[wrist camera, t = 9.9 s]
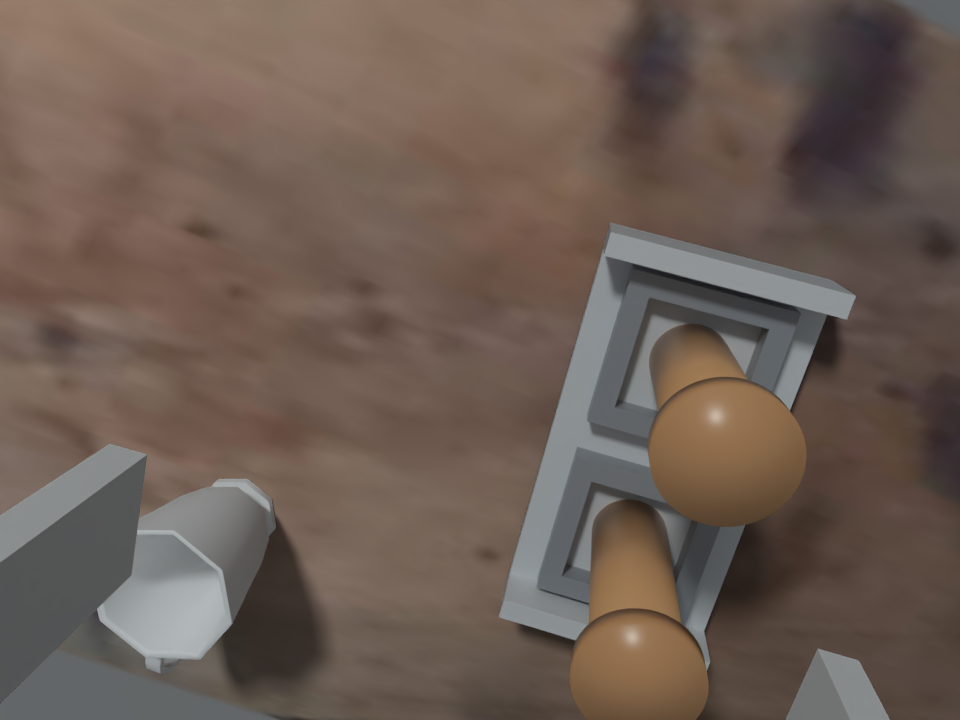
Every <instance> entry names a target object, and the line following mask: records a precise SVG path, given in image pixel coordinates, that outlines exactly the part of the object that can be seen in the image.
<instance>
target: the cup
mask: <svg viewBox="0 0 960 720" xmlns="http://www.w3.org/2000/svg"><path fill="white" fill-rule="evenodd" d="M275 529H276V522H275V516H274V510H273V503H272V499H271V498H270V497H269V496H267V495H266V494H265V493H264V492H263V491H262V490H260V489H259V488H258V487H257V486H256V485H254V484H253V483H252V482H251V481H250V480H248V479H218V480H217V481H216V482H215V483H214V484H213V485H212V486H211V487H205V488H203V489H200V490H197V491H194V492H191V493H188V494H185V495H183V496H180V497H178V498H176V499H175V500H173V501H171V502H169V503H167V504H166V505H164V506H162V507H160V508H158V509H157V510H155V511H153V512H151V513H149V514H147V515H145V516H143V517H141V518H139V521H138V529H137V536H136V544H135V552H134V560H133V567H132V575H131V576H130V577H129V578H128V579H127V580H126V581H125V582H124V583H123V584H122V585H121V586H120V587H119V588H118V589H117V590H116V591H115V592H114V593H113V594H112V595H111V596H110V597H109V598H108V599H107V600H106V601H105V602H104V603H103V604H102V605H101V606H100V607H99V608H97V611H98V615H99V619H100V621H101V622H102V623H103V624H105V625H106V626H107V627H108V628H110V629H111V630H112V631H113V632H115V633H116V634H117V635H118V636H119V637H121V638H122V639H123V640H124V641H126V642H127V643H128V644H129V645H131V646H132V647H133V648H134V649H136V650H137V651H138V652H139V653H141V654H142V655H143V656H144V657H146V660H145V663H146V668H147V669H149V670H152V671H155V672H157V673H160V674H167V673H168V672H170V671H171V670H172V669H173V668H174V667H175V666H176V665H177V664H178V663H179V662H180V661H181V660H182V659H201V658H202V657H203V655H204V654H205V653H206V652H207V651H208V650H209V649H210V648H211V647H212V646H213V645H214V643H215V642H216V641H217V640H218V639H219V638H220V637H221V636H222V635H223V634H224V632H225V631H226V630H227V629H228V628H229V627H230V626H231V625H232V624H233V621H234V619H235V617H236V615H237V613H238V611H239V609H240V607H241V605H242V603H243V601H244V599H245V596H246V594H247V592H248V590H249V588H250V586H251V584H252V582H253V580H254V578H255V576H256V574H257V572H258V570H259V568H260V566H261V564H262V561H263V558H264V555H265V551H266V548H267V544H268V541H269V536H270V534H271V533H272V532H273V531H274V530H275Z"/></svg>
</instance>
